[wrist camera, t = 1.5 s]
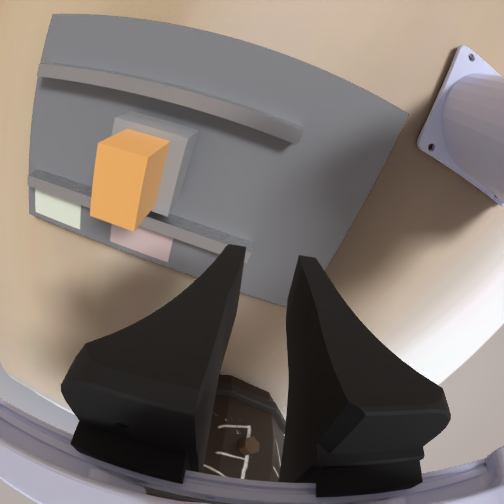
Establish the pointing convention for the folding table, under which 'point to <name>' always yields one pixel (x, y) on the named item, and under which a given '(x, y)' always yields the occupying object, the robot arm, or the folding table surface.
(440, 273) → the folding table surface
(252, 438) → the wooden barrel
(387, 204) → the folding table surface
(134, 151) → the handle
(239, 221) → the board
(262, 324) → the folding table surface
